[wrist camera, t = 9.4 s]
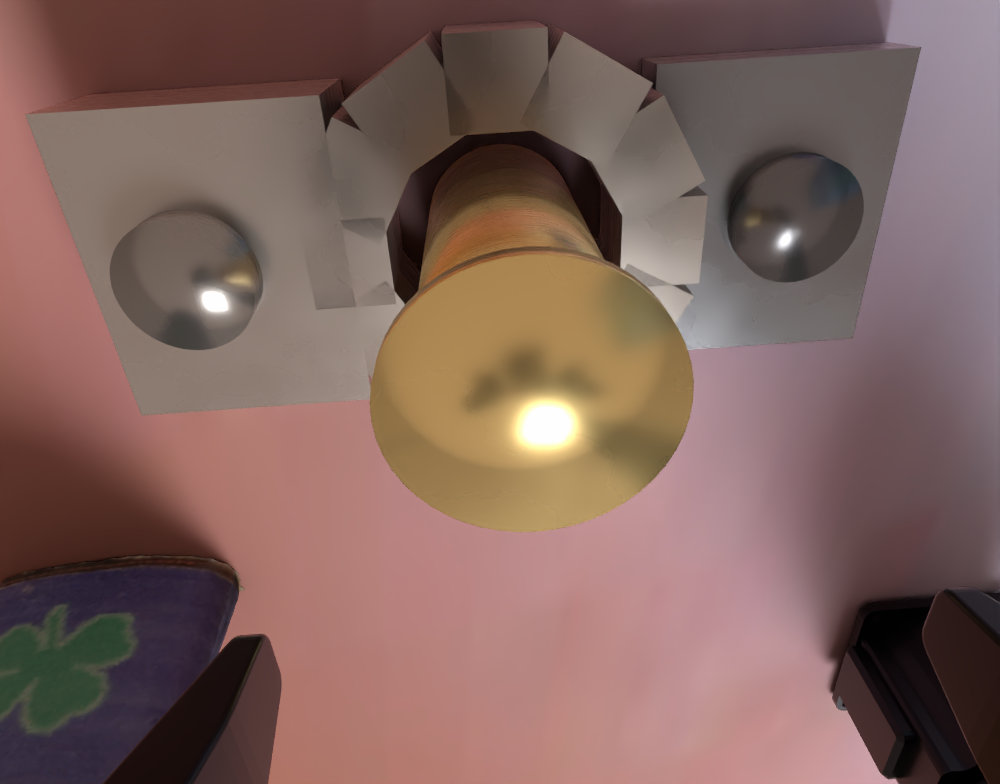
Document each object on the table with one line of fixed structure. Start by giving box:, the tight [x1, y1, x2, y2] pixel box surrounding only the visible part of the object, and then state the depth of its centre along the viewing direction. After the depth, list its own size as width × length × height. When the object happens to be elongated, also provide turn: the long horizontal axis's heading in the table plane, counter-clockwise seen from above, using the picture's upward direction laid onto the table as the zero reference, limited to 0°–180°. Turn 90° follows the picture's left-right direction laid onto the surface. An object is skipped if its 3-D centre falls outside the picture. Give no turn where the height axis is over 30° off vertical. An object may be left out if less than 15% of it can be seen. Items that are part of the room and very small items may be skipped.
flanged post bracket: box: [25, 20, 921, 415], centre depth 18 cm, size 20×10×4 cm, turn 93°
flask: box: [0, 555, 244, 784], centre depth 21 cm, size 9×3×11 cm, turn 94°
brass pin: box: [370, 144, 694, 532], centre depth 15 cm, size 5×5×10 cm
